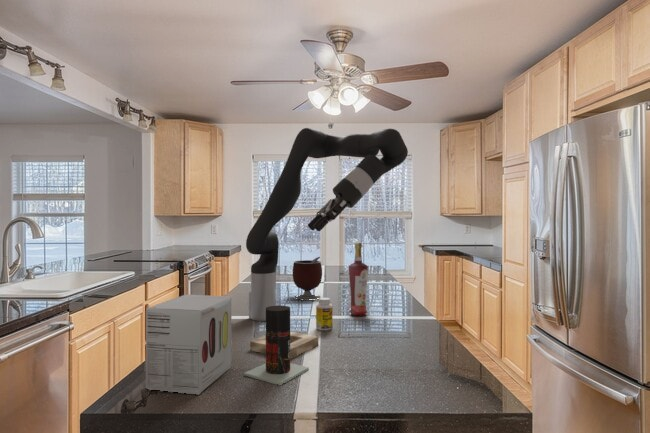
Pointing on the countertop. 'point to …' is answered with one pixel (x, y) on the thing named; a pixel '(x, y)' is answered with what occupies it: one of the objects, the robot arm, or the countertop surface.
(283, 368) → the deodorant
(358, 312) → the liquor
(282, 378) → the plate
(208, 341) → the supplement box
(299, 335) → the socket block
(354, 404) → the countertop surface
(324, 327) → the supplement bottle
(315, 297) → the mate gourd
